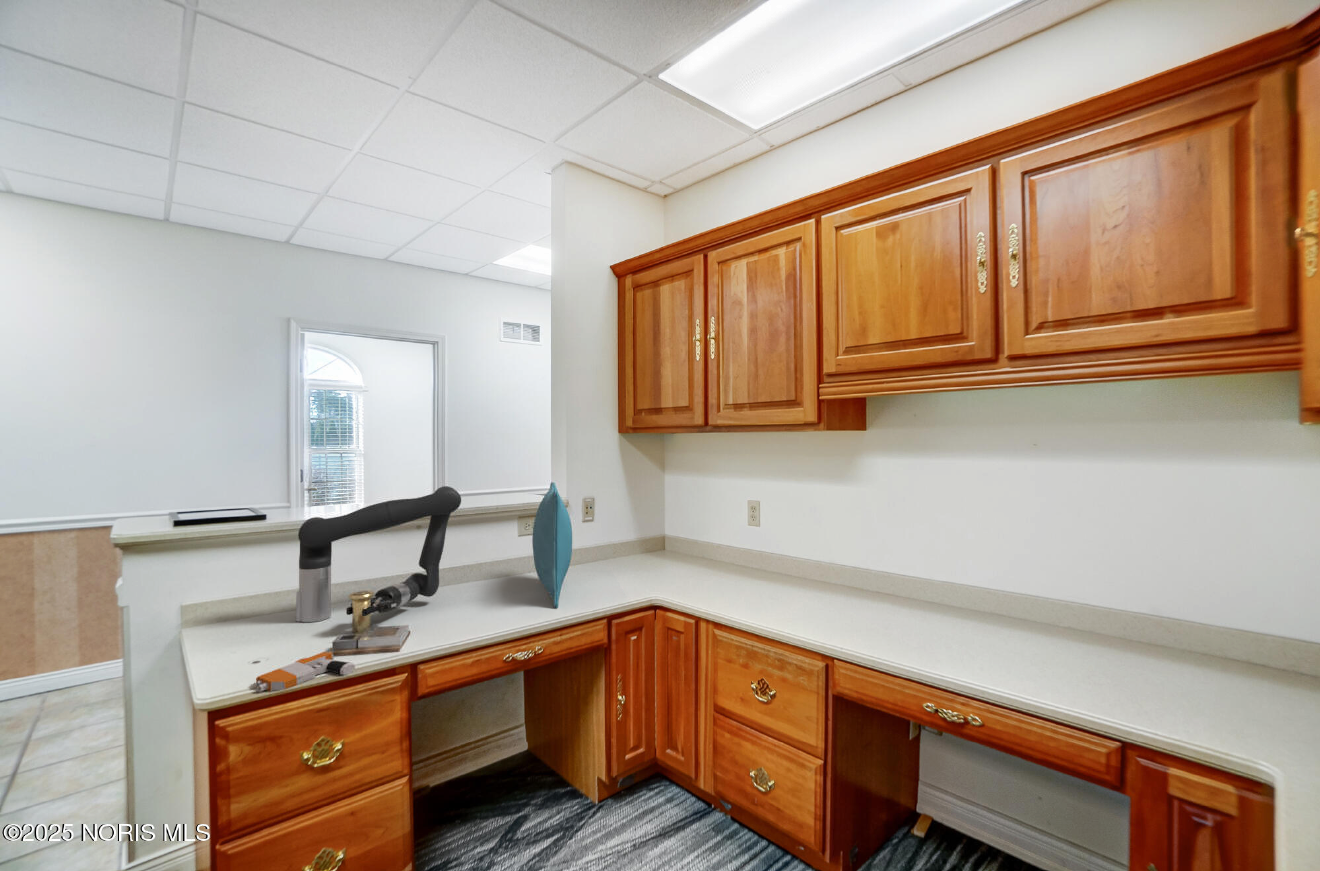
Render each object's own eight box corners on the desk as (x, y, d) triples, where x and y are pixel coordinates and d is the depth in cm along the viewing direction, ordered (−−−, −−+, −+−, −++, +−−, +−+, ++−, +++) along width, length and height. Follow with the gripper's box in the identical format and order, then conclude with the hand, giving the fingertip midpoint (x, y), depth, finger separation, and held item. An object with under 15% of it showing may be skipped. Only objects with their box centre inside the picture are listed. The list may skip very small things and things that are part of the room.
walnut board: (328, 656, 159) (328, 652, 159) (346, 637, 174) (346, 634, 174) (399, 651, 163) (399, 648, 163) (410, 633, 177) (410, 630, 177)
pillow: (532, 580, 244) (533, 481, 244) (568, 578, 247) (569, 481, 247) (531, 610, 202) (532, 491, 202) (575, 607, 205) (575, 490, 205)
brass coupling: (346, 636, 175) (347, 596, 175) (353, 629, 181) (353, 591, 181) (369, 635, 176) (369, 595, 176) (375, 628, 182) (375, 590, 182)
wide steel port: (358, 649, 162) (358, 640, 162) (369, 635, 173) (369, 627, 173) (400, 646, 164) (400, 637, 164) (408, 633, 175) (408, 624, 175)
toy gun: (357, 659, 150) (321, 647, 156) (281, 690, 133) (244, 675, 140) (357, 672, 150) (321, 660, 157) (281, 704, 133) (245, 689, 140)
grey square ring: (332, 650, 160) (332, 641, 160) (339, 643, 166) (339, 634, 166) (356, 649, 162) (356, 640, 162) (362, 641, 168) (362, 633, 168)
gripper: (374, 584, 194) (335, 598, 178) (411, 587, 191) (375, 601, 174) (373, 606, 194) (335, 622, 178) (411, 609, 191) (375, 626, 174)
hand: (355, 612), depth 176 cm, fingers closed on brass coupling, 5 cm apart
